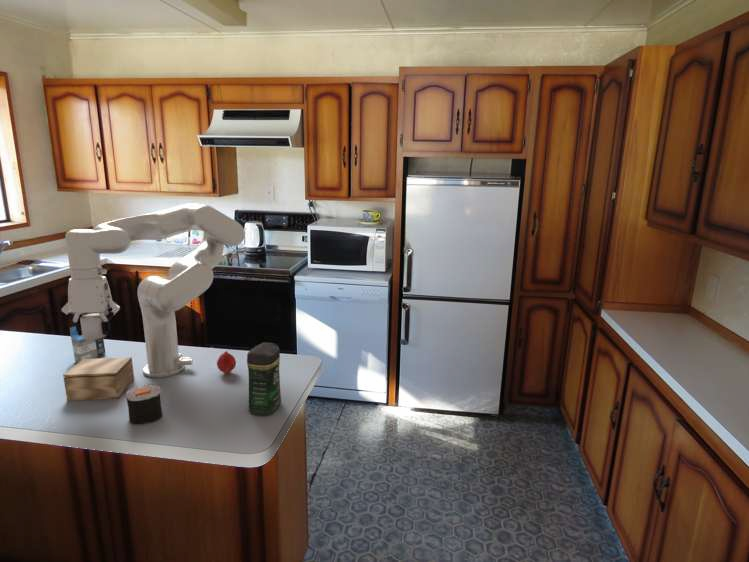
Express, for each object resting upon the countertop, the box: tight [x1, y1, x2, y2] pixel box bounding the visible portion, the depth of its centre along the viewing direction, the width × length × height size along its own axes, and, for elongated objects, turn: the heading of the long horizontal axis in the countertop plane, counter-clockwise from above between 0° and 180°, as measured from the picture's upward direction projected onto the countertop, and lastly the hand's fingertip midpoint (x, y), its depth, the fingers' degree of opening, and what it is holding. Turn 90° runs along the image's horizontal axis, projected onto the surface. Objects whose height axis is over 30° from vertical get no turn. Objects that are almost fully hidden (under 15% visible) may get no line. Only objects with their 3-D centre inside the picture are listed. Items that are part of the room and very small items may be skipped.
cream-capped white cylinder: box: [80, 313, 108, 340], centre depth 135 cm, size 6×6×6 cm
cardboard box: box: [63, 359, 135, 402], centre depth 139 cm, size 14×12×7 cm
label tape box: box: [69, 325, 107, 363], centre depth 160 cm, size 9×4×12 cm, turn 155°
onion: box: [216, 350, 237, 375], centre depth 151 cm, size 6×6×8 cm
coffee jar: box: [246, 341, 282, 416], centre depth 129 cm, size 10×8×19 cm
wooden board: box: [62, 357, 133, 378], centre depth 138 cm, size 14×12×1 cm
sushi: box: [125, 384, 163, 426], centre depth 125 cm, size 8×8×8 cm
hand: (94, 333), depth 135 cm, fingers closed on cream-capped white cylinder, 6 cm apart
